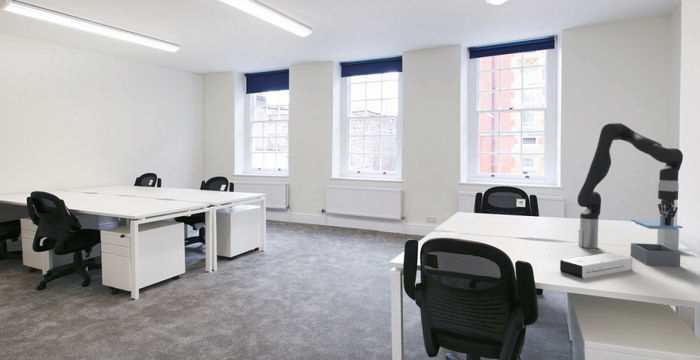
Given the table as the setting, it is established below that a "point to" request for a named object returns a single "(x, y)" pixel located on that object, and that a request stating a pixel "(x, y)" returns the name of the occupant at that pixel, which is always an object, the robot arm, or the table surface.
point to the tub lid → (657, 223)
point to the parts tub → (655, 254)
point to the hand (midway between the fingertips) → (666, 225)
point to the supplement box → (668, 238)
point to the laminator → (596, 265)
